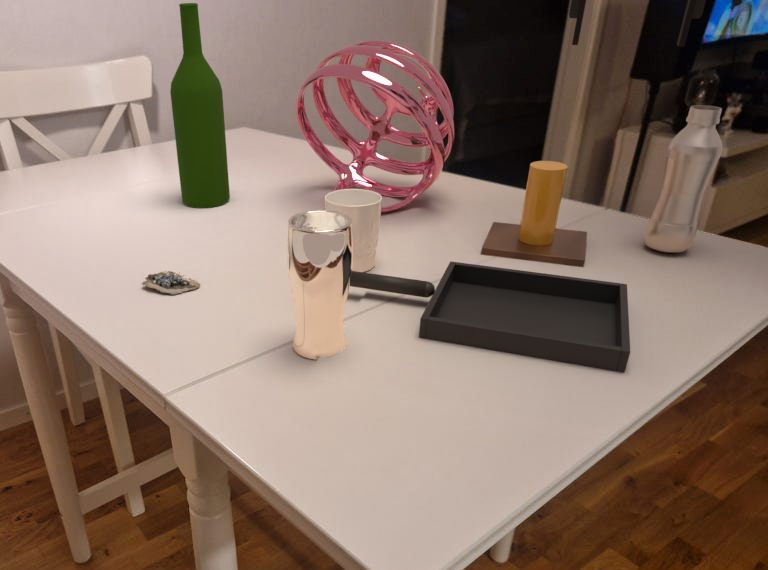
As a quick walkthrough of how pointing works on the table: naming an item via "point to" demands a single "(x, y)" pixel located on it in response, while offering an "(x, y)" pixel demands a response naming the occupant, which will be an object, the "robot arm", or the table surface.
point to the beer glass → (319, 279)
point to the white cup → (359, 222)
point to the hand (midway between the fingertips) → (626, 45)
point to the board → (536, 246)
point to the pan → (531, 315)
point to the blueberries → (170, 282)
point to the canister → (542, 202)
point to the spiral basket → (380, 126)
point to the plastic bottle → (685, 181)
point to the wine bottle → (198, 121)
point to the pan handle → (392, 284)
